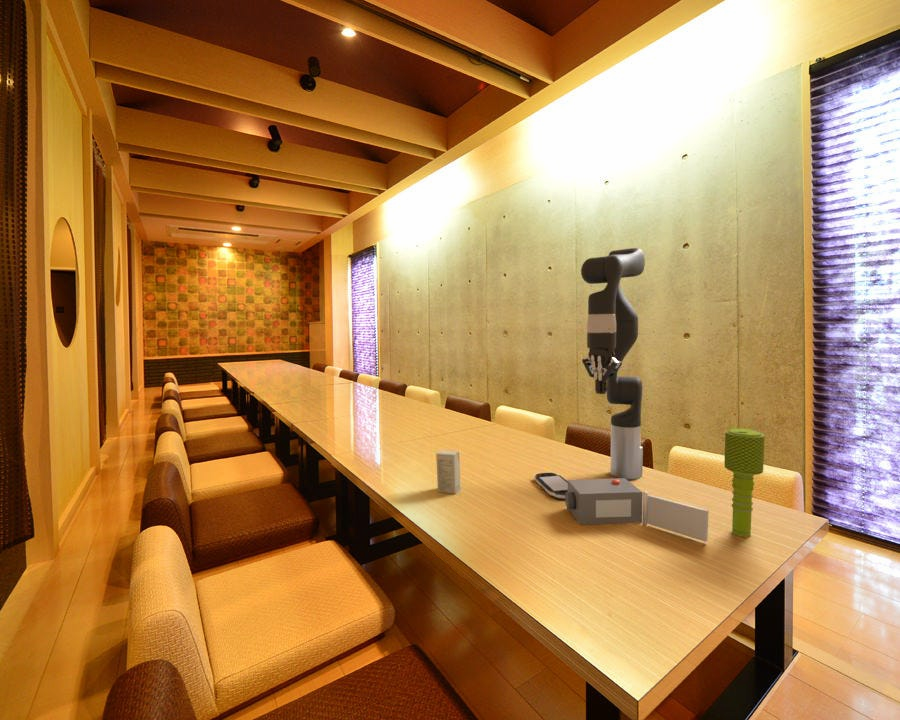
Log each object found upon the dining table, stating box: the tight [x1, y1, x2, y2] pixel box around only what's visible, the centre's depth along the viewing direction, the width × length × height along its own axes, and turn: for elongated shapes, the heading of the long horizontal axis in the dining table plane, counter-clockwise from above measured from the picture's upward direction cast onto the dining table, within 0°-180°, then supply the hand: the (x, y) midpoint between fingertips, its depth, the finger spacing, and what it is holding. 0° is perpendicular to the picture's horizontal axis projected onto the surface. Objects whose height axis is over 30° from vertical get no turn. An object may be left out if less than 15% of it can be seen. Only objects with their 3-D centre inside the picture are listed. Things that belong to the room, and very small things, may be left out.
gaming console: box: [534, 472, 568, 501], centre depth 132 cm, size 19×9×2 cm, turn 9°
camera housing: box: [564, 477, 643, 526], centre depth 112 cm, size 10×18×9 cm, turn 92°
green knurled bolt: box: [723, 428, 766, 538], centre depth 101 cm, size 8×8×25 cm
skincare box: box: [435, 449, 462, 495], centre depth 131 cm, size 6×4×12 cm
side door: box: [642, 490, 709, 542], centre depth 102 cm, size 2×14×8 cm, turn 44°
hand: (600, 393), depth 117 cm, fingers closed
